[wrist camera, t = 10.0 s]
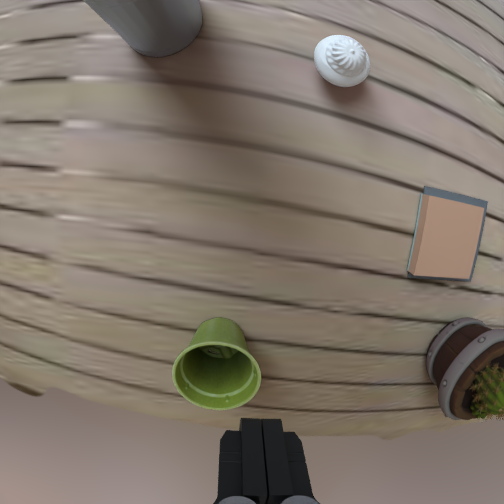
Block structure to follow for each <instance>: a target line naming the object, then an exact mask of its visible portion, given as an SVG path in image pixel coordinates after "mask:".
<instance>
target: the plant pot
mask: <svg viewBox="0 0 504 504" xmlns="http://www.w3.org/2000/svg"><path fill="white" fill-rule="evenodd" d="M208 350H211V351H213V352H216V353H218V354H213V353H210V352H209V351H208ZM172 377H173V382H174V385H175V387H176V389H177V390H178V392H179V393H180V394H181V395H182V396H183V397H184V398H186V399H187V400H188V401H189V402H191V403H193V404H195V405H197V406H199V407H203V408H205V409H211V410H228V409H233V408H237V407H239V406H241V405H244V404H245V403H247V402H248V401H250V400H251V399H252V398H253V397H254V396H255V394H256V393H257V391H258V389H259V387H260V384H261V371H260V367H259V365H258V363H257V361H256V360H255V358H254V357H253V356H252V355H251V354H250V353H249V351H248V348H247V345H246V342H245V338H244V335H243V332H242V330H241V329H240V327H239V326H238V325H237V324H236V323H235V322H233V321H231V320H229V319H226V318H213V319H211V320H208V321H205V322H203V323H202V324H201V325H200V326H199V328H198V329H197V331H196V333H195V335H194V337H193V339H192V341H191V343H190V345H189V347H188V348H186V349H185V350H183V351H182V352H181V353H180V354H179V356H178V357H177V358H176V360H175V362H174V365H173V369H172Z"/></svg>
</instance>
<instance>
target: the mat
mask: <svg viewBox="0 0 504 504" xmlns="http://www.w3.org/2000/svg"><path fill="white" fill-rule="evenodd" d="M423 194H426V195H431V196H436V197H440V198H445V199H449V200H454V201H458V202H462V203H467V204H471V205H475V206H479V207H482V208H484V213H483V218H482V224H481V229H480V234H479V239H478V244H477V249H476V253H475V257H474V261H473V266H472V270H471V273H470V277H469V279H462V278H447V277H432V276H417V275H413V274H412V273H410V272H409V273H408V278H422V279H438V280H454V281H471V279H472V275H473V271H474V267H475V263H476V259H477V255H478V251H479V246H480V241H481V237H482V232H483V226H484V221H485V215H486V209H487V203H488V202H487V201H484V200H480V199H476V198H472V197H468V196H464V195H460V194H456V193H452V192H448V191H444V190H440V189H435V188H431V187H426V186H424V193H423Z"/></svg>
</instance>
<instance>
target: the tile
mask: <svg viewBox="0 0 504 504" xmlns="http://www.w3.org/2000/svg"><path fill="white" fill-rule="evenodd" d="M483 213H484V208H482V207H479V206H475V205H471V204H467V203H462V202H458V201H454V200H449V199H445V198H440V197H436V196H431V195H426V194H421V198H420V204H419V211H418V217H417V222H416V228H415V233H414V239H413V244H412V249H411V254H410V258H409V263H408V267H407V271H409V272H410V273H412V274H413V275H417V276H432V277H447V278H462V279H469V277H470V273H471V270H472V266H473V261H474V257H475V253H476V249H477V244H478V239H479V234H480V229H481V224H482V218H483Z"/></svg>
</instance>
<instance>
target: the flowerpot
mask: <svg viewBox="0 0 504 504" xmlns="http://www.w3.org/2000/svg"><path fill="white" fill-rule="evenodd" d="M426 367H427V371H428V374H429V377H430V379H431V381H432V382H433V383H434V384H436V385H437V387H438V390H439V393H438V400H439V405H440V407H441V409H442V411H443V413H444V414H445V417H449V418H451V419H454V420H459V419H464V420H470V419H472V418H473V419H474V418H478V419H479V418H480V417H481V418H482V419H483V421H484V418H485V417H486V415H489V416H491V417H492V416H493V415H492V414H496V415H499V416H498V418H500V416H502V415H503V414H504V329H493V330H492V329H490V328H487V327H486V326H485V324H484V323H483V322H482V321H480V320H477V319H474V318H461V319H458V320H455V321H453V322H451V323H449V324H448V325H446V326H445V327H444V328H443V329H442V330H441V331H440V332H439V335H436V336H435V337H434V338H433V340H432V342H431V343H430V345H429V348H428V351H427V360H426ZM489 416H487V418H489ZM503 416H504V415H503ZM503 416H502V417H503ZM496 417H497V416H496ZM492 418H493V417H492ZM490 419H491V418H490ZM502 419H503V418H502ZM485 420H487V419H485ZM479 421H480V420H479ZM480 422H481V421H480Z"/></svg>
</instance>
